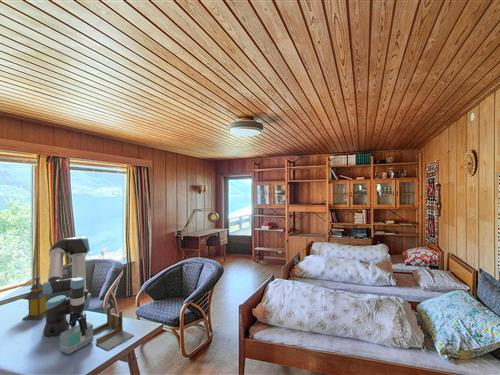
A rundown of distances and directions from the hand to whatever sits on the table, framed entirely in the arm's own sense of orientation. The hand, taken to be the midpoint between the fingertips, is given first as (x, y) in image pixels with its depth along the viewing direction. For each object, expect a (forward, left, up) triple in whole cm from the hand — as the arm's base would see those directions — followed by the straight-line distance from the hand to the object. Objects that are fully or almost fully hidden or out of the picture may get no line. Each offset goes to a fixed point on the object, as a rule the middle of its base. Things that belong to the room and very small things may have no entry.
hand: (78, 338), depth 176 cm
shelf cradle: (0, +17, -5) cm, 18 cm away
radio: (0, 0, -6) cm, 6 cm away
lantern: (-69, +8, -6) cm, 70 cm away
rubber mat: (+14, +16, -5) cm, 22 cm away
